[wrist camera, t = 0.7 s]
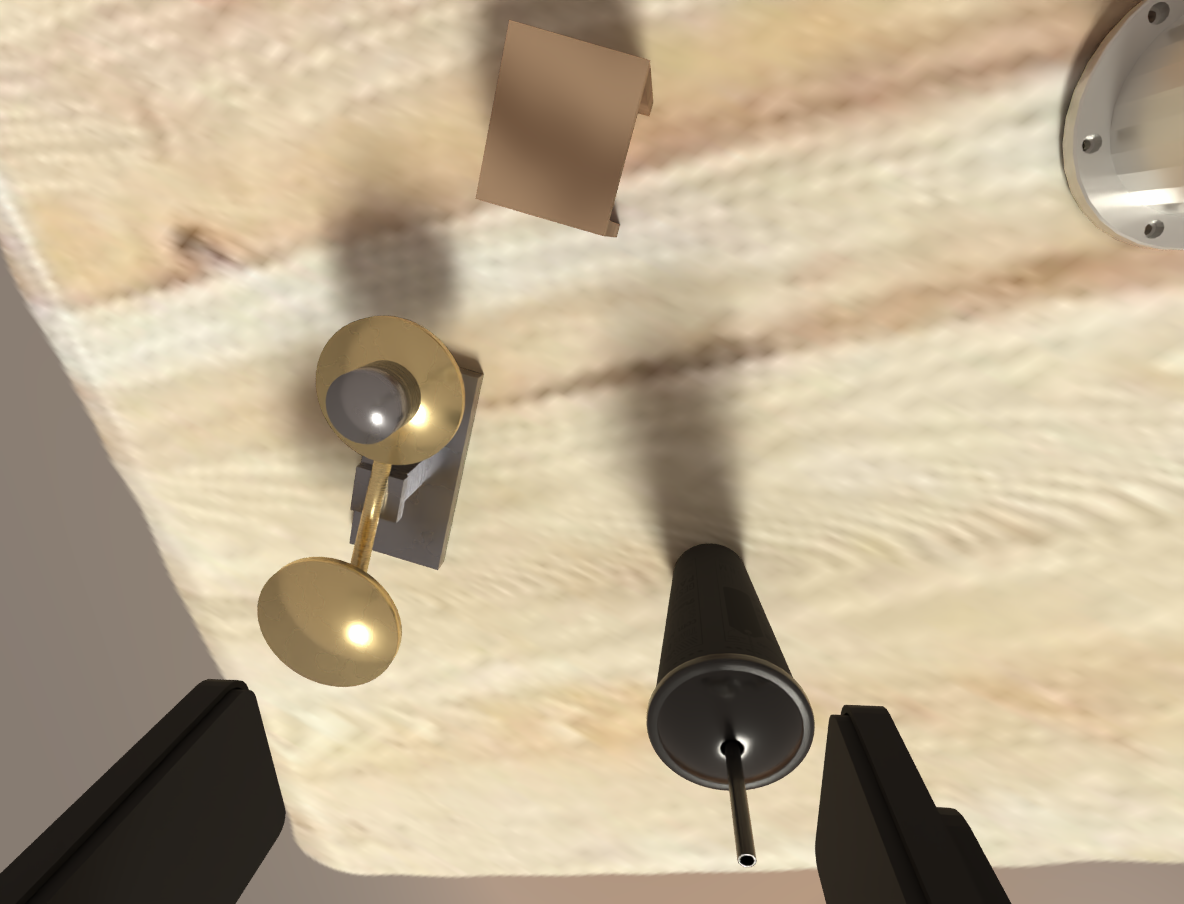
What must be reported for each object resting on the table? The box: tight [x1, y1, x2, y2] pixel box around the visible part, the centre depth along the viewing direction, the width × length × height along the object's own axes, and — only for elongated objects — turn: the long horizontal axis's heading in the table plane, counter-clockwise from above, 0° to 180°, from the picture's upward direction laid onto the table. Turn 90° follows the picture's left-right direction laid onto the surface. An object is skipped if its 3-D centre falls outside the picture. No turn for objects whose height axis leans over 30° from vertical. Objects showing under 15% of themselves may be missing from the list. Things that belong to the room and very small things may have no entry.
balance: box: [258, 316, 484, 687], centre depth 36 cm, size 21×8×10 cm, turn 164°
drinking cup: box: [647, 544, 815, 867], centre depth 31 cm, size 8×8×20 cm
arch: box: [476, 20, 653, 237], centre depth 30 cm, size 7×6×8 cm
